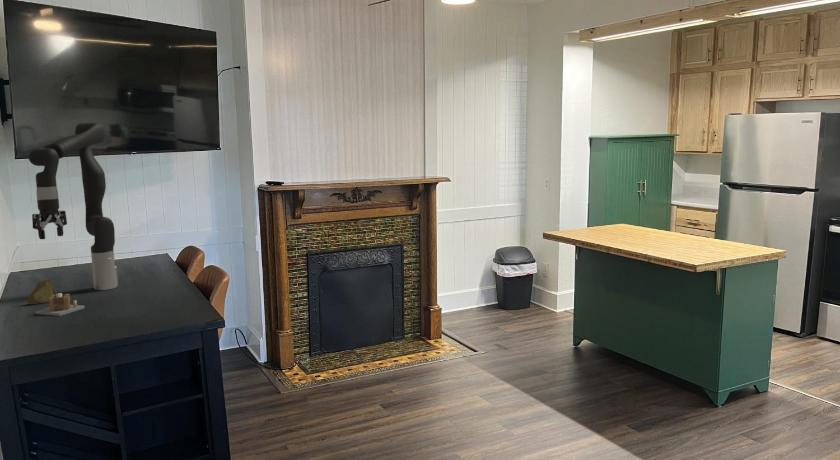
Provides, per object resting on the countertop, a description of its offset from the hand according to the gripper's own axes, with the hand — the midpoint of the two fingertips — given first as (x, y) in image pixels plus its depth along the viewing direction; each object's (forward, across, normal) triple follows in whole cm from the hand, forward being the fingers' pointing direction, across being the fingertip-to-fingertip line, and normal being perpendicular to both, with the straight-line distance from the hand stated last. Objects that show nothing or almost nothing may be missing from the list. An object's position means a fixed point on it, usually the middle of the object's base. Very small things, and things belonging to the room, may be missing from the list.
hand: (51, 237), depth 256 cm
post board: (+28, +8, +10) cm, 31 cm away
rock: (+28, -2, -10) cm, 30 cm away
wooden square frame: (+27, +8, +10) cm, 30 cm away
